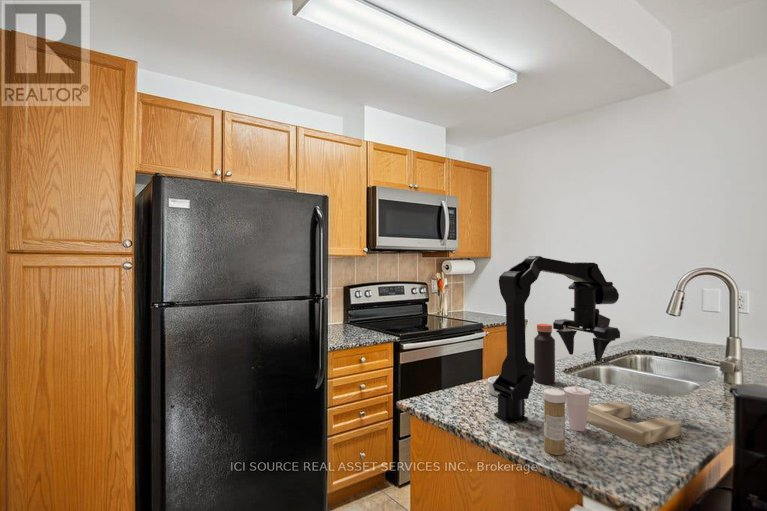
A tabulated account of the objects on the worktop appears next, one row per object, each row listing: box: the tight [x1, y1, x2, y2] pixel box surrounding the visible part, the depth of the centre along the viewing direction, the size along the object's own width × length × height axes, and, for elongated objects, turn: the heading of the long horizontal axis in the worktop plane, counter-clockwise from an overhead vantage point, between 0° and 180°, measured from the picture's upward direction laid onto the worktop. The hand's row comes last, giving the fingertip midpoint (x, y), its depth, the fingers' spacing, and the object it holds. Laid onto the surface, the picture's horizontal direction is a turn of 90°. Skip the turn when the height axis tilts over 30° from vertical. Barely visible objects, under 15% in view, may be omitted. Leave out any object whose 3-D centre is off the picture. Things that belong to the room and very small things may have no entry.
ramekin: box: [487, 376, 514, 398], centre depth 129 cm, size 9×9×4 cm
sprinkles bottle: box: [543, 388, 566, 456], centre depth 90 cm, size 5×5×14 cm
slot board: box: [586, 400, 682, 447], centre depth 103 cm, size 14×17×3 cm
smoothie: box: [563, 373, 592, 432], centre depth 103 cm, size 6×6×14 cm
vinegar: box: [533, 323, 556, 385], centre depth 142 cm, size 7×7×20 cm
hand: (584, 357), depth 118 cm, fingers open, 9 cm apart
